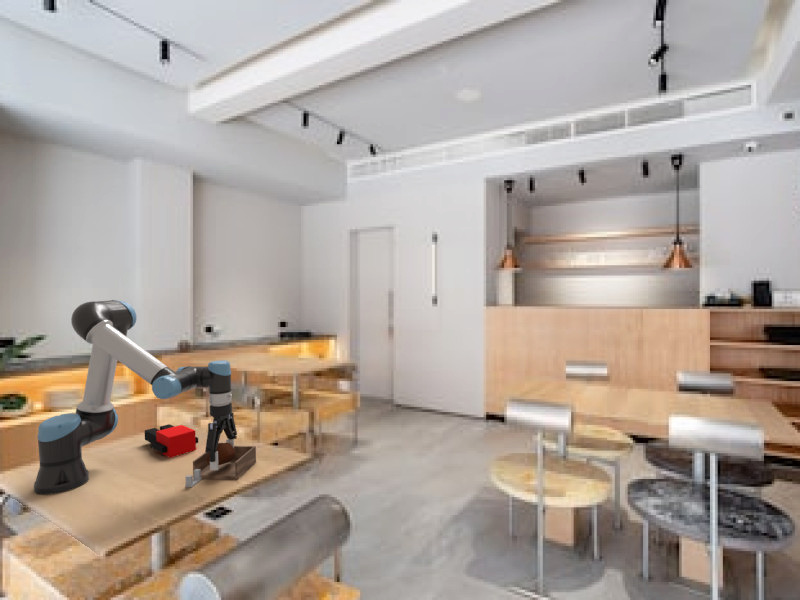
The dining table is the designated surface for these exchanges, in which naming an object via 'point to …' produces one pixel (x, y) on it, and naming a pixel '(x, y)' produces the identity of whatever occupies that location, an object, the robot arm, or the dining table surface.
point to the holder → (228, 464)
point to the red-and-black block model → (172, 439)
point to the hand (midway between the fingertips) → (222, 463)
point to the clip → (190, 481)
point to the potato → (223, 453)
